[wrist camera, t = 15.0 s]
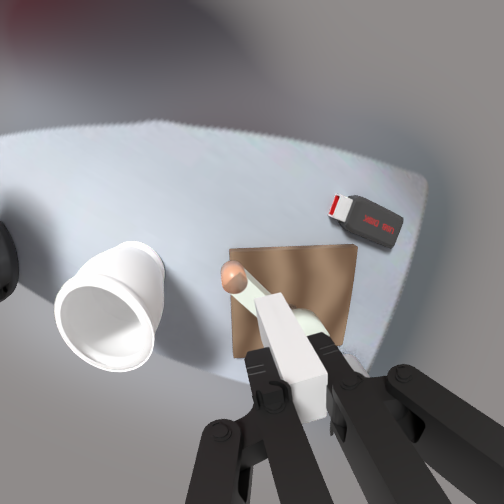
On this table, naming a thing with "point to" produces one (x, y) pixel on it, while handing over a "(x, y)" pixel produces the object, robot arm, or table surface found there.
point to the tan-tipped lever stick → (261, 295)
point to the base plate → (297, 287)
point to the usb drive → (366, 219)
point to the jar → (113, 307)
